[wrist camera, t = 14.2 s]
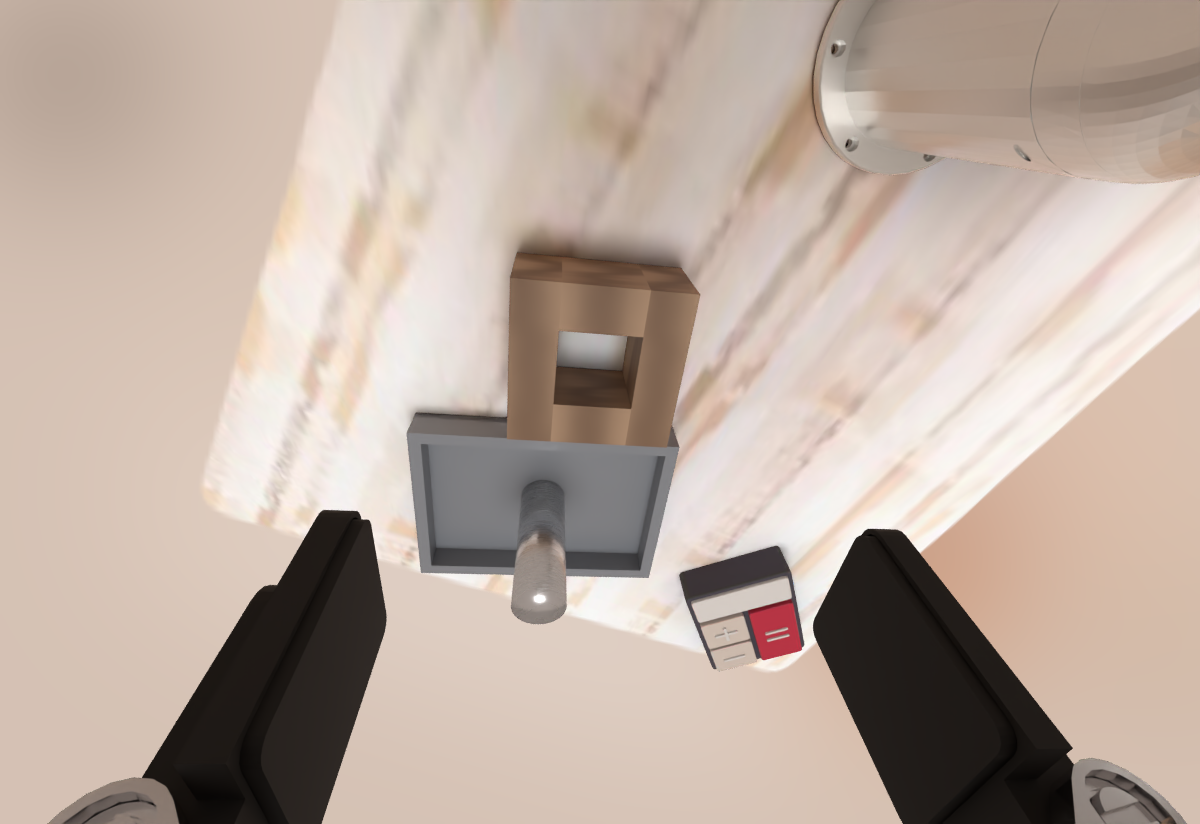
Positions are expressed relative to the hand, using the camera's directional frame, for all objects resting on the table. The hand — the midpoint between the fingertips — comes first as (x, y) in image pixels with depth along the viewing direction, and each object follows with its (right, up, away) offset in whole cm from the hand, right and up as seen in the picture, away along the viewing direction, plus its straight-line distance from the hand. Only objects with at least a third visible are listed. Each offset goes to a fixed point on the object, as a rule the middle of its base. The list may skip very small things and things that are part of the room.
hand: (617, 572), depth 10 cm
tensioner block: (-1, +9, +30) cm, 31 cm away
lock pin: (-6, -5, +37) cm, 38 cm away
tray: (-6, -4, +38) cm, 39 cm away
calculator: (+16, -18, +49) cm, 55 cm away
